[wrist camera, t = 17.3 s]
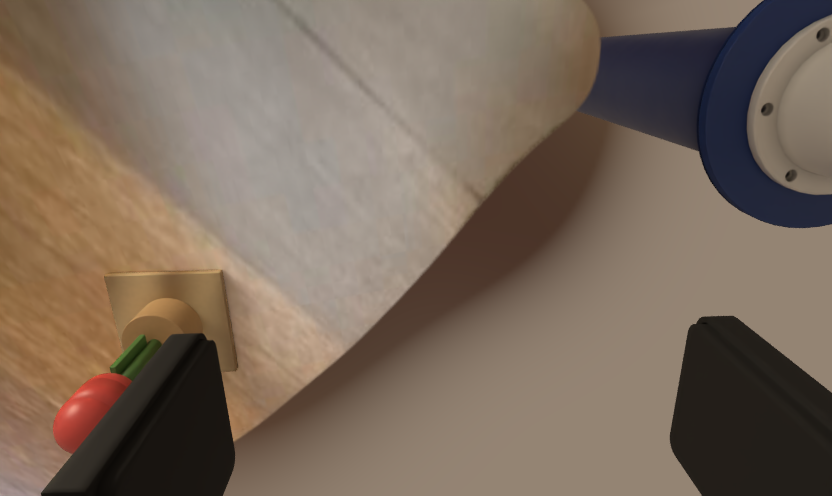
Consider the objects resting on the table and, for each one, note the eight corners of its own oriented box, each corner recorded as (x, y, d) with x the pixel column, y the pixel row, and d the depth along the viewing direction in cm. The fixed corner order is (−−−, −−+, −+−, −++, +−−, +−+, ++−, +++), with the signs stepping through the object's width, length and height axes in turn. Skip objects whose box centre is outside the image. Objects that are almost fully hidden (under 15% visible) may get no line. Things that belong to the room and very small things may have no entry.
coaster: (222, 269, 42) (219, 272, 41) (238, 367, 45) (235, 371, 45) (107, 273, 42) (103, 276, 41) (131, 371, 45) (127, 375, 44)
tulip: (197, 296, 42) (106, 405, 29) (207, 351, 44) (126, 477, 31) (133, 298, 42) (14, 408, 29) (146, 353, 44) (39, 480, 31)
